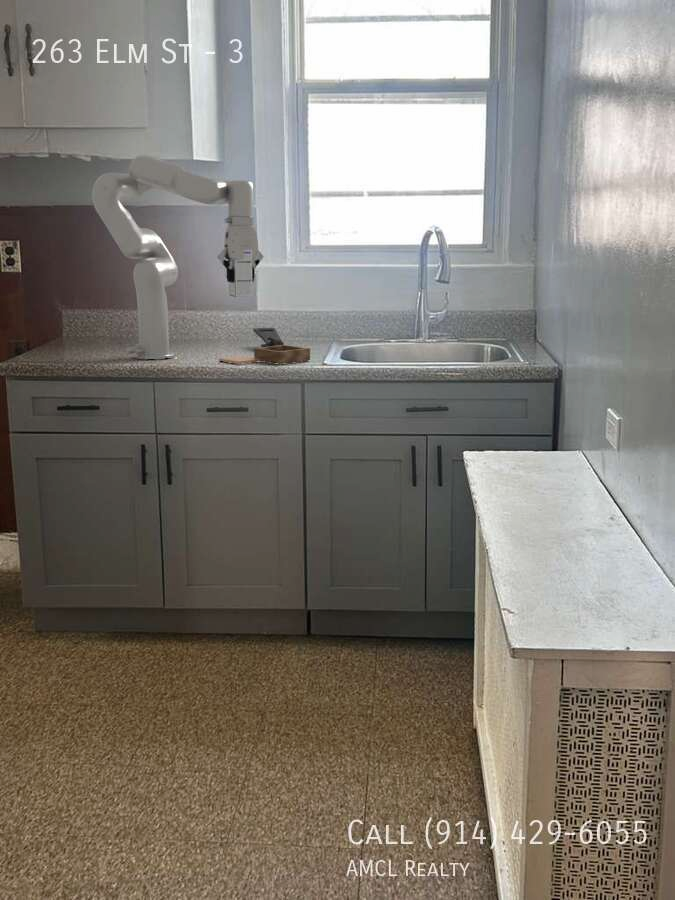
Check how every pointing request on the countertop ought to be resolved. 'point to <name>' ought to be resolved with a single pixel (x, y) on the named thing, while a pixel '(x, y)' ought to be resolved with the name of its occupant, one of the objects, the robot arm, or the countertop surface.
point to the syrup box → (242, 276)
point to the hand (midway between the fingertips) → (240, 281)
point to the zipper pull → (268, 336)
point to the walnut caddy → (282, 354)
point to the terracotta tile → (240, 359)
